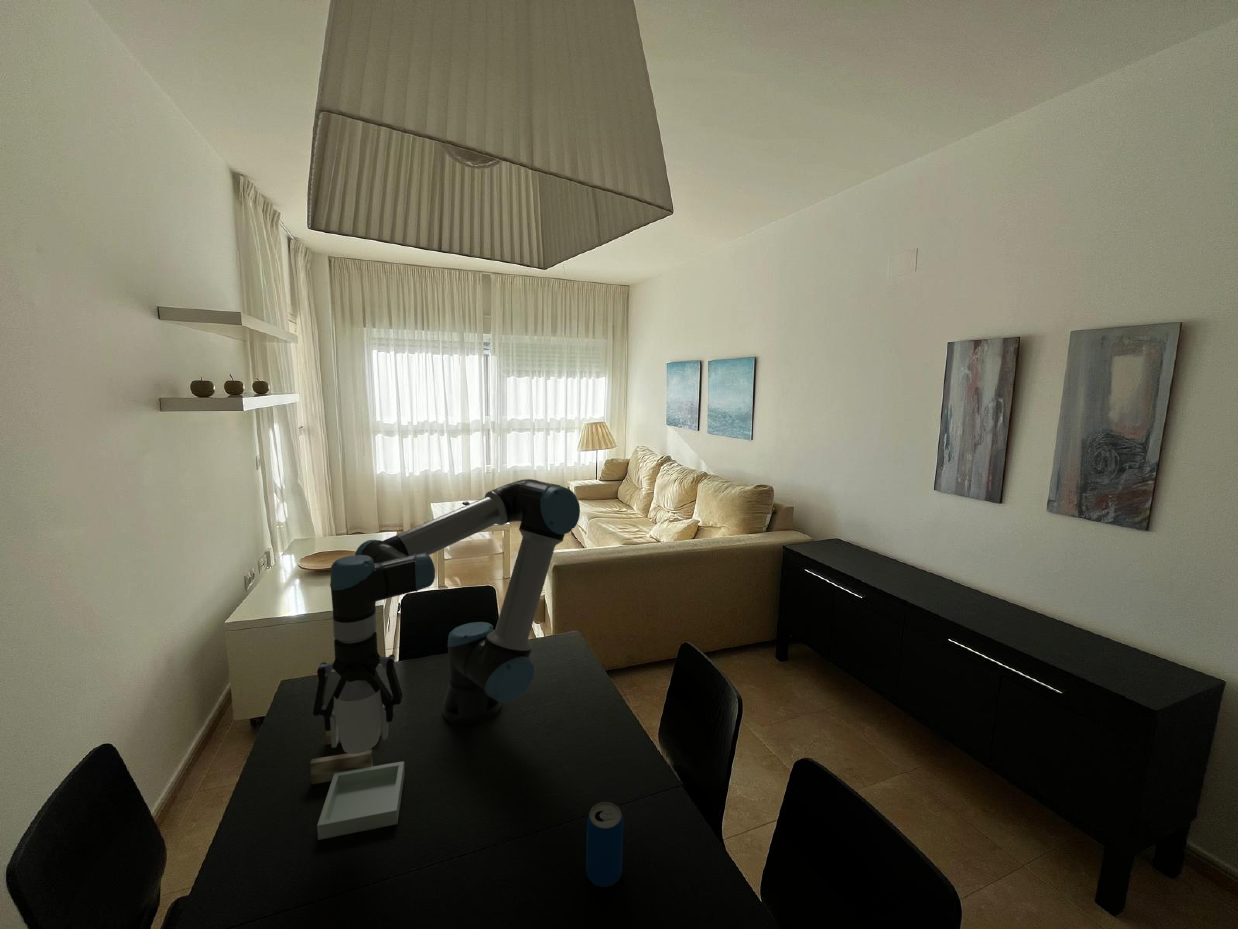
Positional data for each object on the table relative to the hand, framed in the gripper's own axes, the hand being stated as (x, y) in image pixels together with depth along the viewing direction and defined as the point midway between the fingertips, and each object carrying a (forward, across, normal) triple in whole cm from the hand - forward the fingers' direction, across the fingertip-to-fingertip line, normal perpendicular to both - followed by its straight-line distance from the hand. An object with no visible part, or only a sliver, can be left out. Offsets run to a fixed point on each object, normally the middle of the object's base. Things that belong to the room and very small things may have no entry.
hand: (360, 739), depth 105 cm
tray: (+15, 0, 0) cm, 15 cm away
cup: (+1, 0, 0) cm, 1 cm away
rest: (+15, +6, -16) cm, 23 cm away
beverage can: (+15, -44, +28) cm, 54 cm away
